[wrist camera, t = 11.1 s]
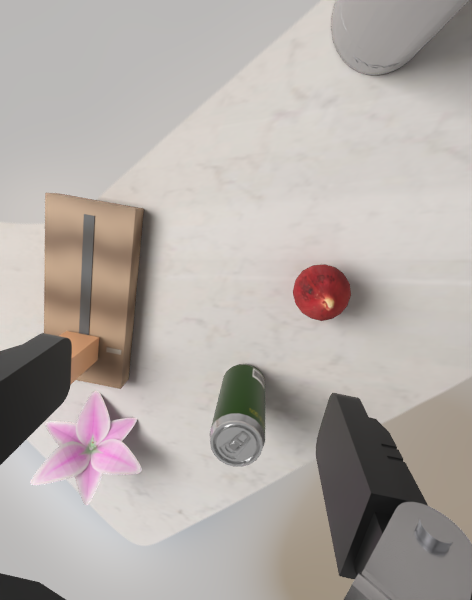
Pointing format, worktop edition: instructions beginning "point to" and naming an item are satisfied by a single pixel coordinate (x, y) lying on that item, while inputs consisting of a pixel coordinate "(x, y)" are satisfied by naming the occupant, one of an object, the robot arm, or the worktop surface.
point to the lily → (88, 449)
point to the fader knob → (82, 352)
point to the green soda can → (239, 417)
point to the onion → (321, 292)
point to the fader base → (93, 278)
